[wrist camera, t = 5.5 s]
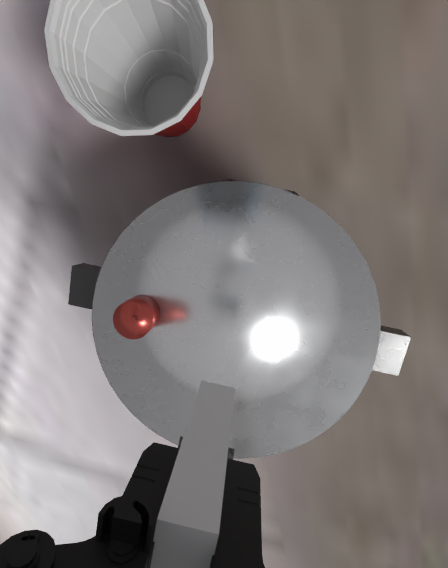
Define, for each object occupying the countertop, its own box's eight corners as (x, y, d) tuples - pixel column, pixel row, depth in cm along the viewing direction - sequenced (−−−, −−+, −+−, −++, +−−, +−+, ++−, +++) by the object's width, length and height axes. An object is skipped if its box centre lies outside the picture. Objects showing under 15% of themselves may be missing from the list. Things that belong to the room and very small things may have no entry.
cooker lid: (119, 159, 21) (94, 147, 18) (408, 214, 20) (439, 212, 17) (83, 457, 26) (57, 492, 22) (318, 513, 25) (328, 559, 22)
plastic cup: (191, 186, 33) (157, 167, 21) (101, 127, 33) (17, 76, 21) (249, 85, 31) (247, 2, 19) (153, 21, 30) (91, -102, 19)
